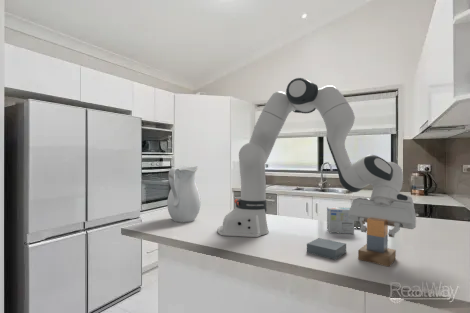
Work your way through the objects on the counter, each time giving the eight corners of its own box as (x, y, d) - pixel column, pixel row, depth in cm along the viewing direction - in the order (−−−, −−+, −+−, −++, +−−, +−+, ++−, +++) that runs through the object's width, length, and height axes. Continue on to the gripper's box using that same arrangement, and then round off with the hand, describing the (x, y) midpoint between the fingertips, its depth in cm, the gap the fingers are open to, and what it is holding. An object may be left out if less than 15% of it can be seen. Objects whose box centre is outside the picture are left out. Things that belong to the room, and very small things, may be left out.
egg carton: (336, 226, 137) (337, 218, 137) (341, 224, 143) (341, 216, 143) (360, 230, 130) (360, 221, 130) (363, 227, 136) (363, 218, 136)
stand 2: (358, 259, 90) (358, 250, 90) (366, 252, 97) (366, 244, 97) (389, 266, 84) (389, 256, 84) (395, 259, 91) (395, 249, 91)
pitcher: (177, 215, 154) (178, 165, 154) (205, 218, 149) (206, 166, 149) (152, 224, 131) (153, 166, 132) (183, 228, 126) (185, 167, 126)
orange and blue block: (366, 249, 90) (367, 219, 90) (370, 246, 94) (371, 216, 94) (383, 253, 87) (384, 221, 87) (387, 249, 91) (387, 219, 91)
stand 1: (306, 252, 96) (306, 243, 96) (318, 246, 103) (319, 237, 103) (335, 259, 89) (335, 250, 89) (346, 252, 97) (346, 243, 97)
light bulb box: (349, 230, 128) (350, 207, 129) (354, 234, 122) (354, 209, 122) (326, 229, 129) (326, 206, 130) (329, 233, 123) (329, 208, 123)
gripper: (351, 192, 103) (342, 222, 95) (417, 197, 89) (412, 233, 82) (355, 202, 106) (346, 233, 98) (419, 209, 93) (414, 245, 85)
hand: (376, 233), depth 90 cm, fingers open, 7 cm apart
